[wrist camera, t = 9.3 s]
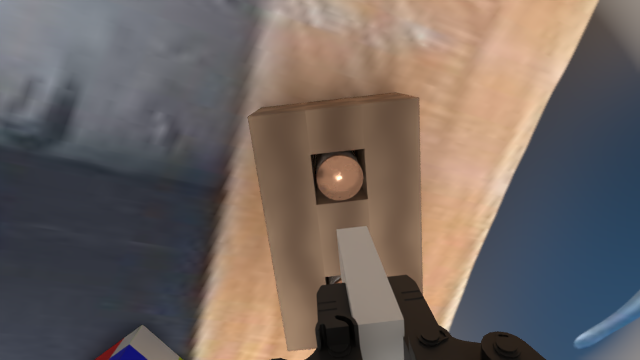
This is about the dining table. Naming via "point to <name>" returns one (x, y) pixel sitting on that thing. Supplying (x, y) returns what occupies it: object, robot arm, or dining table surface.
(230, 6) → the dining table surface
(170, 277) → the dining table surface
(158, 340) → the puzzle toy
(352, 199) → the socket block
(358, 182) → the peg
